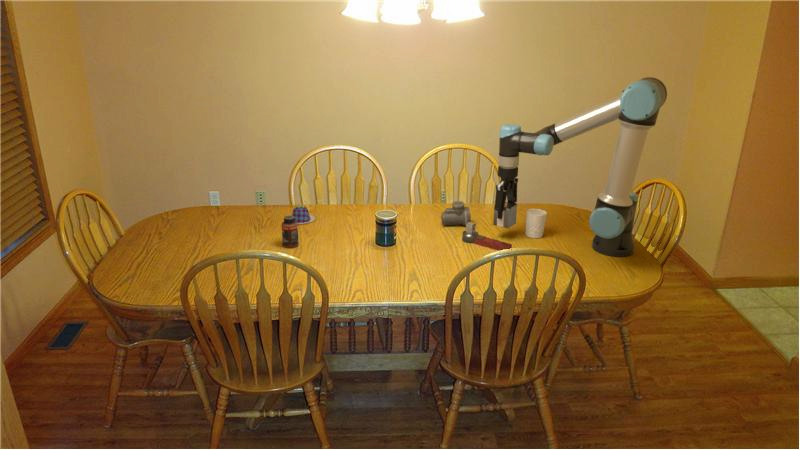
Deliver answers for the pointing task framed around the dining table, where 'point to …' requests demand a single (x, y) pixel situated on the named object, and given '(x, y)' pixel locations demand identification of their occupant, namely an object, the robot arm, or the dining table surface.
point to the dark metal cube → (507, 215)
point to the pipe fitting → (456, 214)
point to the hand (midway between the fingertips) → (504, 223)
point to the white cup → (535, 222)
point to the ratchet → (482, 239)
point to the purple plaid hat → (302, 215)
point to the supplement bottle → (290, 232)
